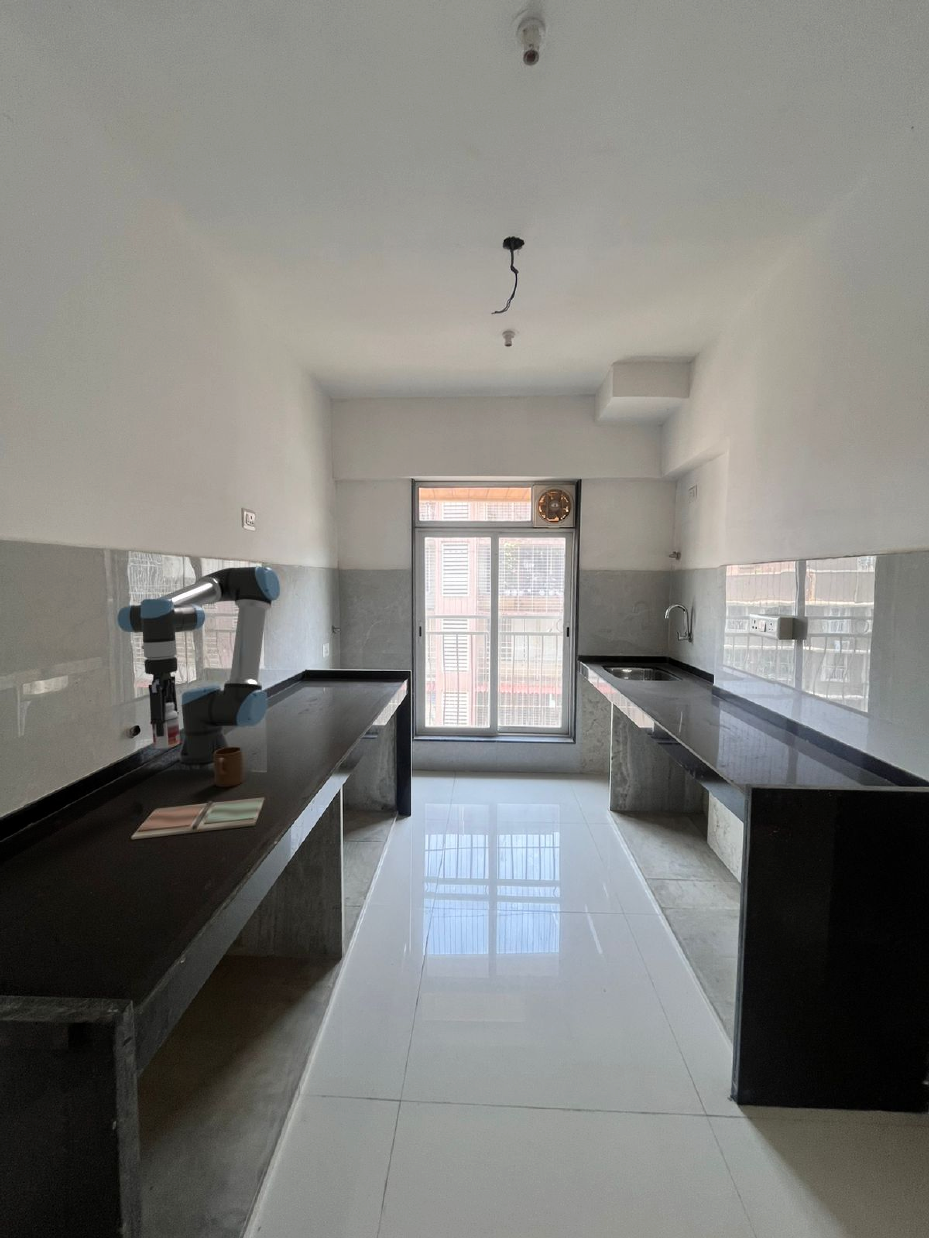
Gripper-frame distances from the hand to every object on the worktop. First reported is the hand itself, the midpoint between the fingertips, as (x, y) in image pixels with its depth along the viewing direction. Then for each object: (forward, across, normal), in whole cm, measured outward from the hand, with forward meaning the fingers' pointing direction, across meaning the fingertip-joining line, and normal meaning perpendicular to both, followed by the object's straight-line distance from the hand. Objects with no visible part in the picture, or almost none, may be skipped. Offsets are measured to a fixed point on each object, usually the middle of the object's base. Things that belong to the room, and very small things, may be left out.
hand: (166, 744), depth 147 cm
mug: (+15, -6, +13) cm, 21 cm away
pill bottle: (+1, 0, 0) cm, 1 cm away
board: (+15, +16, +12) cm, 25 cm away
